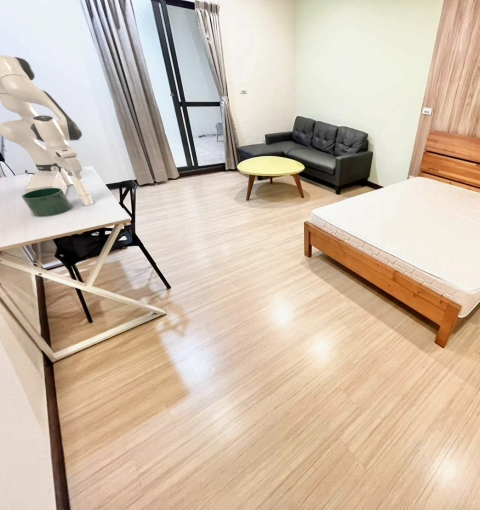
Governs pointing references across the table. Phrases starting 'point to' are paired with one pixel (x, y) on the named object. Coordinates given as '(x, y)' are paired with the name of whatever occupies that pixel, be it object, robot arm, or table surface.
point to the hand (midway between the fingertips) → (75, 177)
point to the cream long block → (46, 181)
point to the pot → (47, 201)
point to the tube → (82, 191)
